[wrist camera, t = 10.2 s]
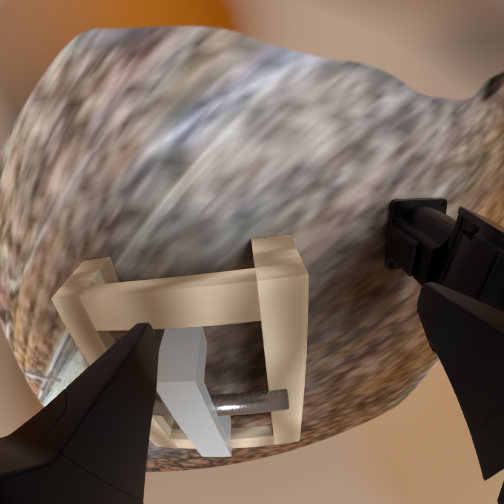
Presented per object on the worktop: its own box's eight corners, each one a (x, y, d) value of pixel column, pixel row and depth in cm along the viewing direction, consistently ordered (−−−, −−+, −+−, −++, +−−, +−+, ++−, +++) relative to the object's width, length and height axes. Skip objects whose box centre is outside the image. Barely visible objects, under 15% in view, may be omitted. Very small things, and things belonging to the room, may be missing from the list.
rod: (285, 383, 21) (289, 402, 19) (286, 395, 22) (289, 413, 20) (122, 389, 21) (118, 405, 19) (131, 400, 22) (127, 416, 20)
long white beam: (202, 324, 20) (195, 381, 15) (230, 414, 26) (231, 456, 21) (165, 327, 20) (150, 381, 15) (204, 415, 26) (202, 456, 21)
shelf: (289, 234, 21) (308, 274, 15) (292, 403, 31) (299, 440, 26) (83, 260, 21) (51, 298, 15) (162, 410, 31) (156, 446, 26)
